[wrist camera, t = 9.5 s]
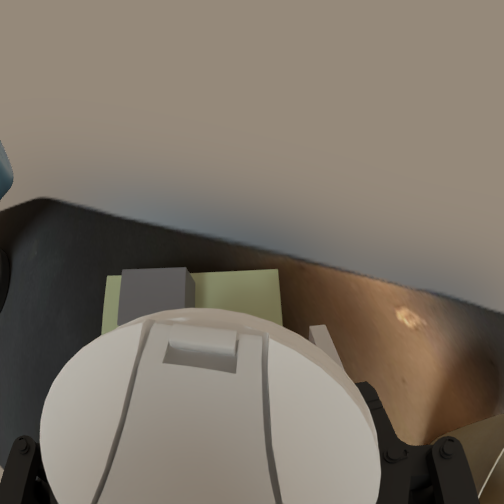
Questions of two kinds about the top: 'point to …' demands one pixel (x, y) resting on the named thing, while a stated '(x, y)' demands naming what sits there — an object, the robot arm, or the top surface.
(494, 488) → the plant pot
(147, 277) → the green block with cube
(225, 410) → the paper cup
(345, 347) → the top surface
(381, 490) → the robot arm
